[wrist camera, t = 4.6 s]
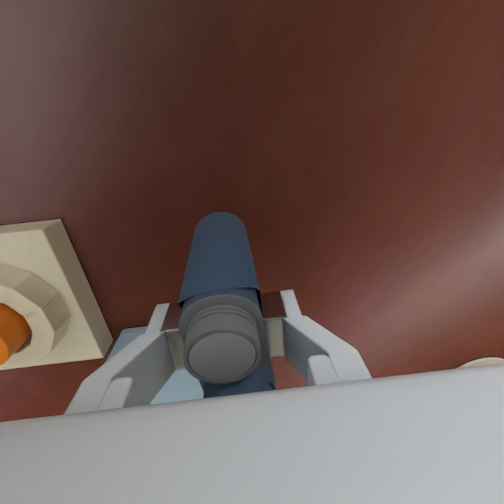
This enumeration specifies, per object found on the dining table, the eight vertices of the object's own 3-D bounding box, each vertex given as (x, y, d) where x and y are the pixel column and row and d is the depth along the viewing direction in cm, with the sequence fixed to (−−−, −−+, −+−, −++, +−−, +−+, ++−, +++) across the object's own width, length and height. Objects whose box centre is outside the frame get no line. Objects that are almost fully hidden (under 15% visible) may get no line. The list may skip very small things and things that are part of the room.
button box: (-72, 232, 16) (-147, 259, 13) (61, 218, 16) (19, 241, 13) (10, 351, 20) (-30, 393, 17) (113, 339, 21) (92, 378, 17)
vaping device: (214, 294, 16) (200, 670, 5) (190, 211, 13) (64, 605, 3) (257, 286, 16) (332, 642, 5) (241, 202, 13) (320, 549, 3)
